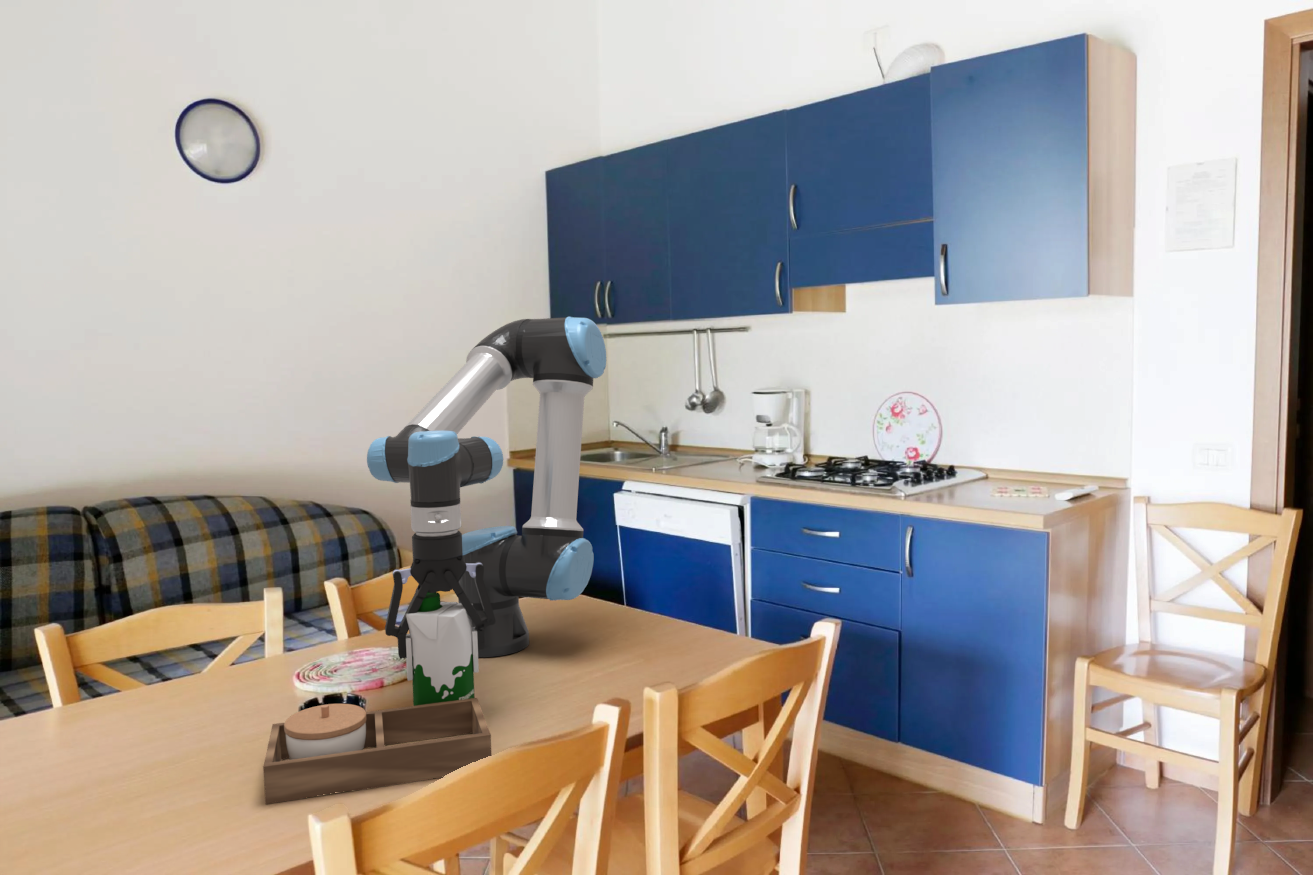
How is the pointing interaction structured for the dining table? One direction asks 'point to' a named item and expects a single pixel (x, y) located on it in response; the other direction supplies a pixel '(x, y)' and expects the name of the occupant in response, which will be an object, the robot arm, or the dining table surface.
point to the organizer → (383, 752)
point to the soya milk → (441, 651)
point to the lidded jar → (325, 730)
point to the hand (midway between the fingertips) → (442, 673)
